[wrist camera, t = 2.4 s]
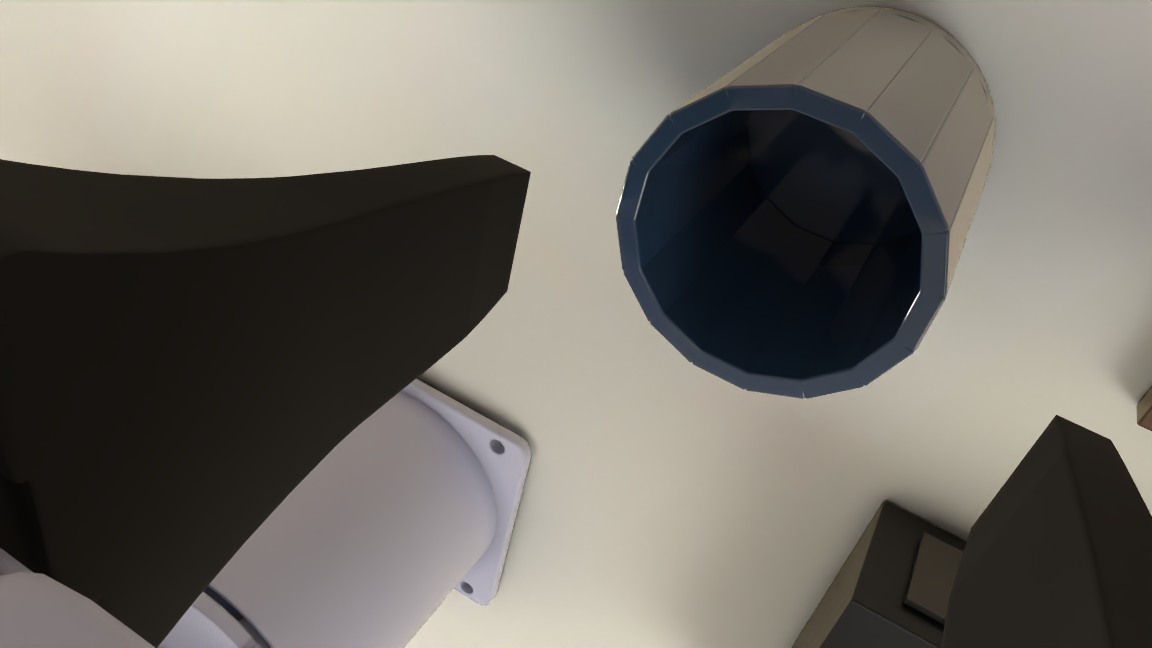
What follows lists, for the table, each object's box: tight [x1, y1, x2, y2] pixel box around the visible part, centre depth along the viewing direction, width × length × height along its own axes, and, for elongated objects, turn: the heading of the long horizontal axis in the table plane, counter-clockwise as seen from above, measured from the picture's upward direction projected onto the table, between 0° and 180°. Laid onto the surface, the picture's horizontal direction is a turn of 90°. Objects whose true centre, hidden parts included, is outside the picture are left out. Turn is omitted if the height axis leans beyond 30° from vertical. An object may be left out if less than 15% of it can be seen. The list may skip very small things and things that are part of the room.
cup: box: [616, 7, 995, 399], centre depth 15 cm, size 5×5×6 cm
